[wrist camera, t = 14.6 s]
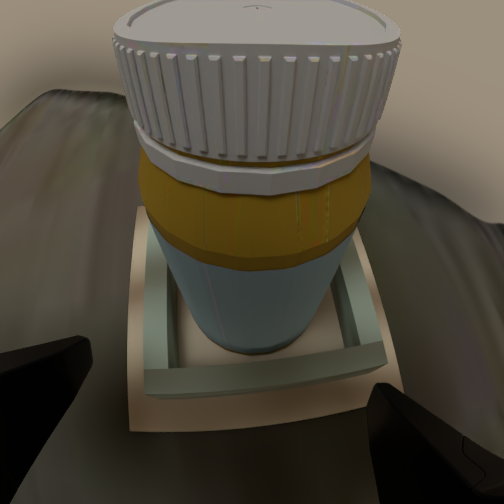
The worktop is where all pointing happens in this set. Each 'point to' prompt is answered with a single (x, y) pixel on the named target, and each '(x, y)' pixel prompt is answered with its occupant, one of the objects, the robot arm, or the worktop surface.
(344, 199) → the bottle
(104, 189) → the worktop surface
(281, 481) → the worktop surface
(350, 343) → the square rimmed tray
